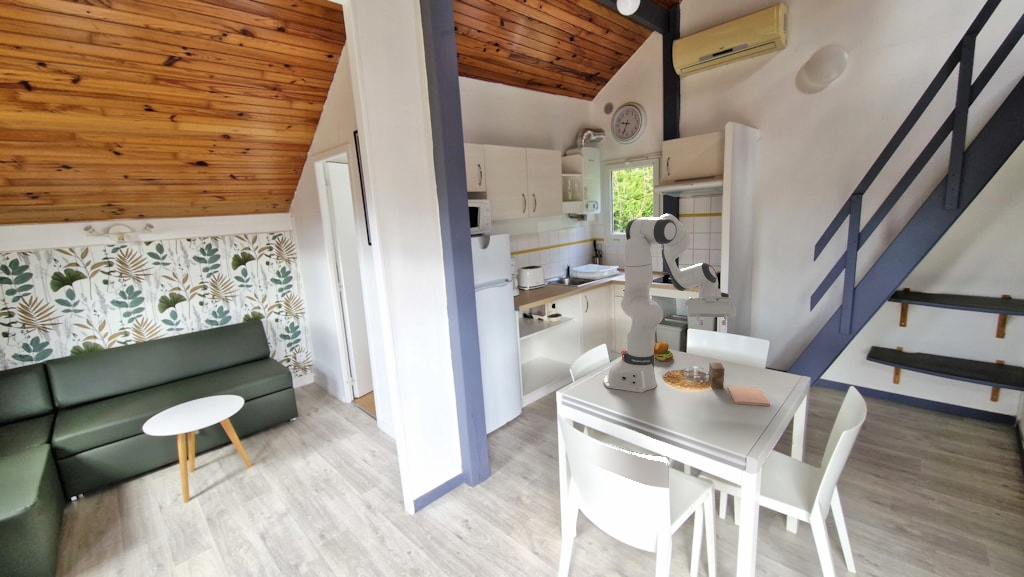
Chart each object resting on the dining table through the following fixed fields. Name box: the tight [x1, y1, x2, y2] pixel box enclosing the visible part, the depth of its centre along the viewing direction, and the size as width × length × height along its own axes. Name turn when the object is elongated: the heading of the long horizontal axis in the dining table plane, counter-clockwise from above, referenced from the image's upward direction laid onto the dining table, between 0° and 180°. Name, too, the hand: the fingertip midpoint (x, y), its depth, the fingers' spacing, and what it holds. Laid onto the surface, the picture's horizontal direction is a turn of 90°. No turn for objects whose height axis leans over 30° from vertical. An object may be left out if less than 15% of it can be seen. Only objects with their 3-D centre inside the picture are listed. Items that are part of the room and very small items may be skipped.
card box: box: [708, 361, 725, 390], centre depth 182 cm, size 4×7×9 cm, turn 165°
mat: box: [726, 385, 771, 407], centre depth 172 cm, size 12×14×1 cm
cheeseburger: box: [654, 341, 674, 363], centre depth 214 cm, size 10×11×10 cm
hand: (712, 324), depth 192 cm, fingers open, 8 cm apart
